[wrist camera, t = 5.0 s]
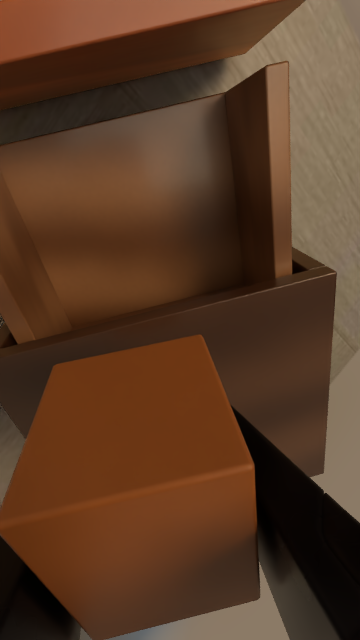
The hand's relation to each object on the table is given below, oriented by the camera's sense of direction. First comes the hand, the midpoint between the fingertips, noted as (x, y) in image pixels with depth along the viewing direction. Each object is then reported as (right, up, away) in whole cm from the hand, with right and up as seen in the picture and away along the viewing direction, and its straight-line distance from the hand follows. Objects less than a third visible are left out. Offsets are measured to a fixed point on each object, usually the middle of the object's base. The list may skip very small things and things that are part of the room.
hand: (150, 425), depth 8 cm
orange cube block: (0, 0, 0) cm, 0 cm away
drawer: (-2, +11, +6) cm, 13 cm away
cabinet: (0, +1, +13) cm, 13 cm away
